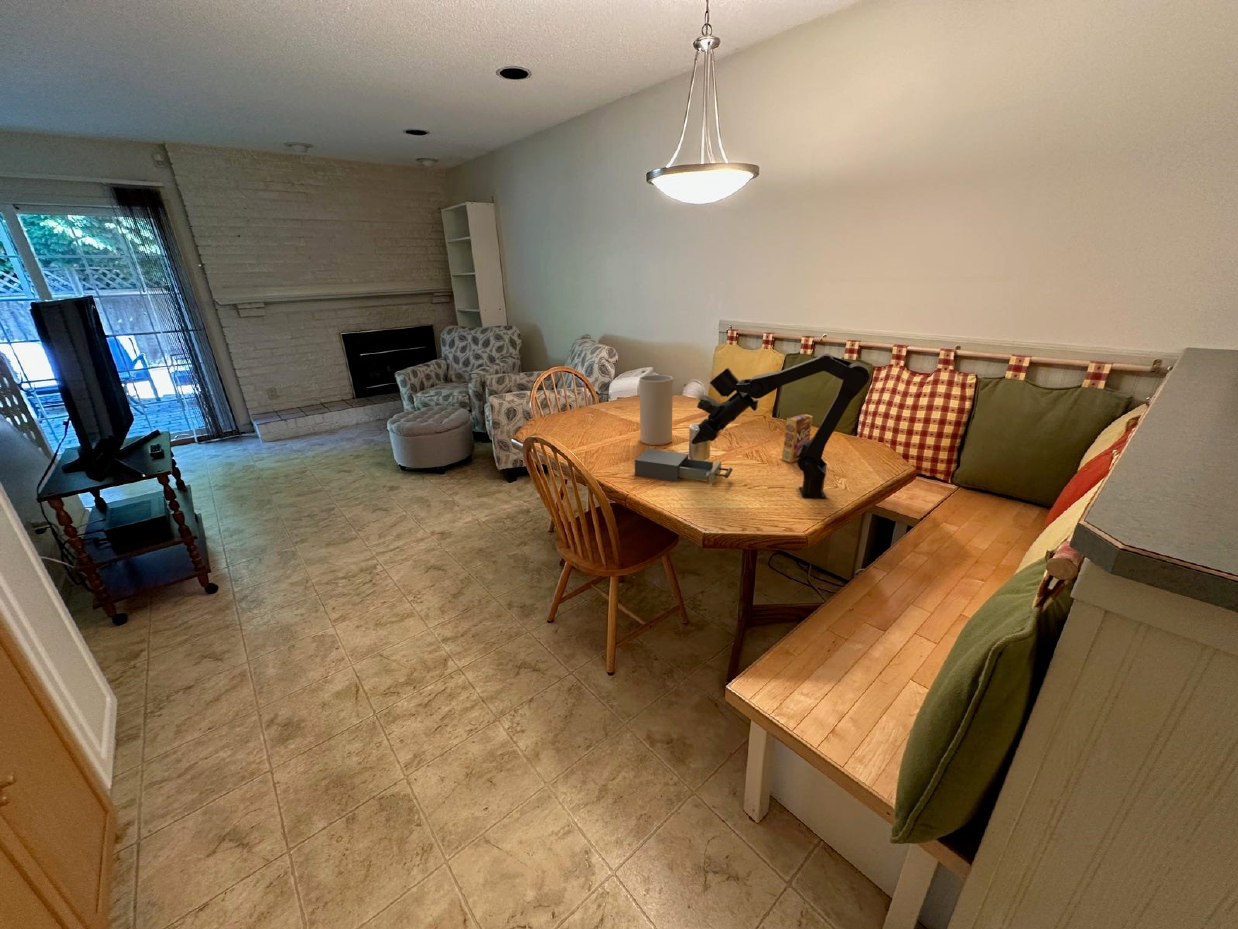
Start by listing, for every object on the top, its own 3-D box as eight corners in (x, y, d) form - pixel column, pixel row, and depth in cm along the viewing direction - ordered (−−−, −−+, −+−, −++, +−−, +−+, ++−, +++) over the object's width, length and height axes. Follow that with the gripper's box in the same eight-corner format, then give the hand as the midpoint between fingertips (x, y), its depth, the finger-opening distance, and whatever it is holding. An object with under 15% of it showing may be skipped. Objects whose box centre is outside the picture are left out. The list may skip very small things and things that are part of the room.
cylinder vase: (677, 438, 191) (678, 376, 182) (662, 447, 181) (662, 382, 172) (650, 434, 197) (650, 373, 188) (634, 442, 188) (633, 379, 179)
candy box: (791, 463, 163) (796, 420, 157) (781, 459, 166) (785, 417, 160) (808, 457, 167) (813, 415, 162) (797, 454, 171) (802, 413, 165)
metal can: (710, 460, 147) (711, 429, 144) (688, 460, 149) (689, 429, 145) (709, 453, 153) (710, 423, 150) (689, 453, 155) (689, 423, 151)
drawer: (733, 473, 154) (734, 462, 152) (726, 485, 145) (727, 474, 144) (681, 466, 161) (681, 455, 159) (671, 477, 152) (671, 466, 151)
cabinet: (688, 469, 161) (688, 453, 159) (677, 482, 151) (677, 465, 149) (647, 463, 166) (647, 448, 164) (634, 475, 157) (634, 459, 155)
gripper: (721, 381, 149) (687, 413, 158) (706, 394, 133) (668, 428, 142) (745, 408, 149) (709, 438, 157) (732, 424, 133) (693, 456, 142)
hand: (695, 439), depth 150 cm, fingers closed on metal can, 6 cm apart
